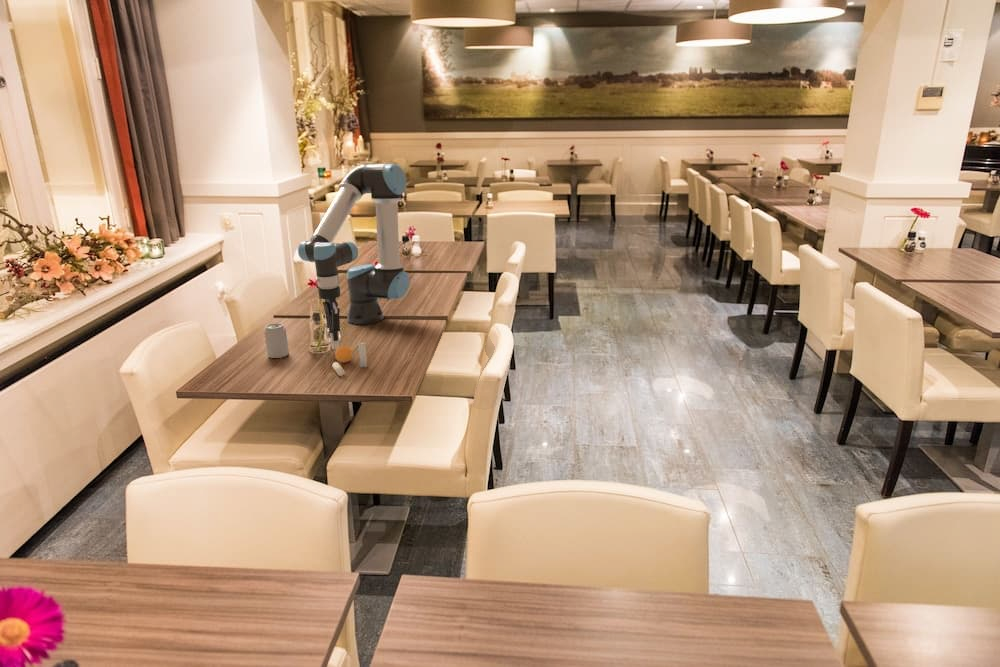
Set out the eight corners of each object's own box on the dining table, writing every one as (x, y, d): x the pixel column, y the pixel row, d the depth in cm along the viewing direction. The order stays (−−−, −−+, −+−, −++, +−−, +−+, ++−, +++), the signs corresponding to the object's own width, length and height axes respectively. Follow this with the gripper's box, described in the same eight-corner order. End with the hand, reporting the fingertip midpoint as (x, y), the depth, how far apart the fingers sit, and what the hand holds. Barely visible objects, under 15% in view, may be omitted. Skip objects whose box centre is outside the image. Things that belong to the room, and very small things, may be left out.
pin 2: (359, 365, 236) (357, 343, 233) (366, 364, 237) (363, 341, 234) (361, 368, 234) (359, 345, 231) (368, 366, 235) (366, 343, 232)
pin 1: (340, 363, 235) (346, 371, 227) (337, 369, 235) (343, 377, 228) (333, 361, 233) (339, 369, 226) (331, 367, 234) (336, 375, 226)
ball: (339, 364, 235) (335, 364, 240) (356, 360, 238) (351, 360, 243) (335, 348, 235) (331, 348, 240) (352, 343, 237) (347, 344, 243)
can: (292, 352, 251) (288, 322, 247) (284, 359, 244) (279, 328, 240) (273, 352, 251) (268, 322, 248) (264, 359, 244) (259, 328, 241)
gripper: (313, 284, 244) (320, 344, 252) (323, 292, 234) (331, 355, 241) (333, 281, 248) (340, 341, 256) (344, 288, 237) (351, 351, 245)
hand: (335, 347), depth 248 cm, fingers closed
